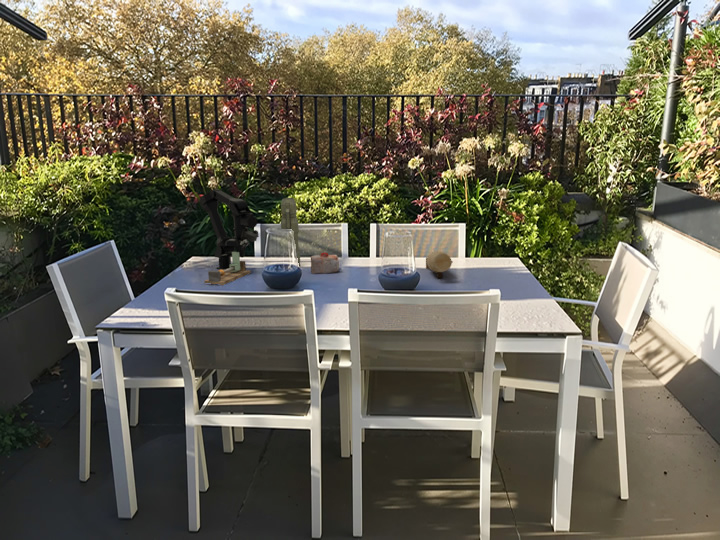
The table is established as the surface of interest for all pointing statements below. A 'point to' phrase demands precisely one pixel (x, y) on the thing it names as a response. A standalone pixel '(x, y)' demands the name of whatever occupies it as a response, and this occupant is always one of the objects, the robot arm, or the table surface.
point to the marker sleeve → (235, 261)
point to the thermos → (290, 219)
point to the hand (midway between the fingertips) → (242, 257)
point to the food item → (324, 263)
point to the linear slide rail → (227, 275)
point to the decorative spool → (438, 262)
